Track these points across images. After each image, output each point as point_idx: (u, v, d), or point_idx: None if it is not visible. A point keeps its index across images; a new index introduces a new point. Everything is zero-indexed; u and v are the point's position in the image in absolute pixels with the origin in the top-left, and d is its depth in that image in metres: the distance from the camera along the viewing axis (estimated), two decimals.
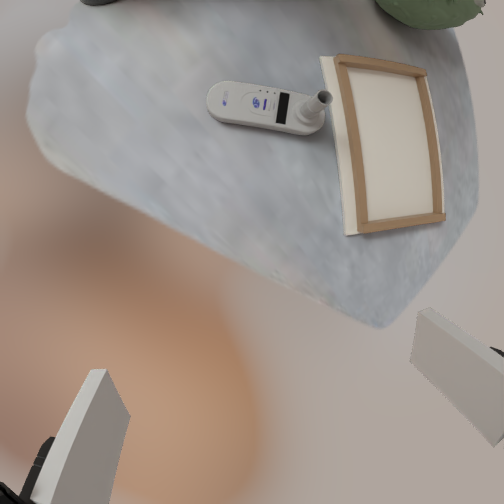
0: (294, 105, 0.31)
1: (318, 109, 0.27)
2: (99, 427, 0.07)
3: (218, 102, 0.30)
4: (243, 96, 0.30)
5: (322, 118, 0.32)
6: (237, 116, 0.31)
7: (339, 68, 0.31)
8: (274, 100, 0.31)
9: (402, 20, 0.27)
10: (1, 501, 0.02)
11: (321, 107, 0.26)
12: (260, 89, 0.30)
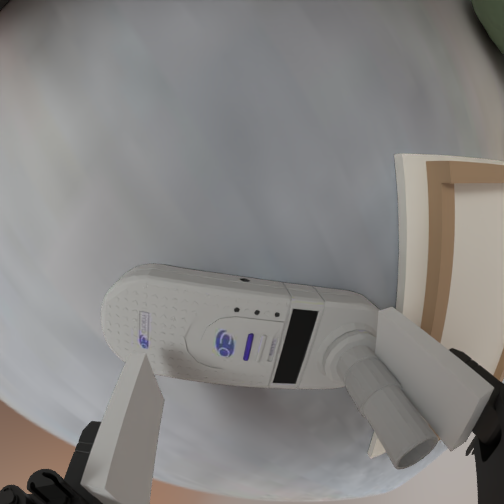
0: (325, 340, 0.13)
1: None
2: (142, 408, 0.08)
3: (129, 339, 0.12)
4: (190, 326, 0.12)
5: None
6: (181, 374, 0.12)
7: (441, 198, 0.12)
8: (274, 334, 0.12)
9: None
10: (49, 490, 0.03)
11: None
12: (237, 306, 0.12)
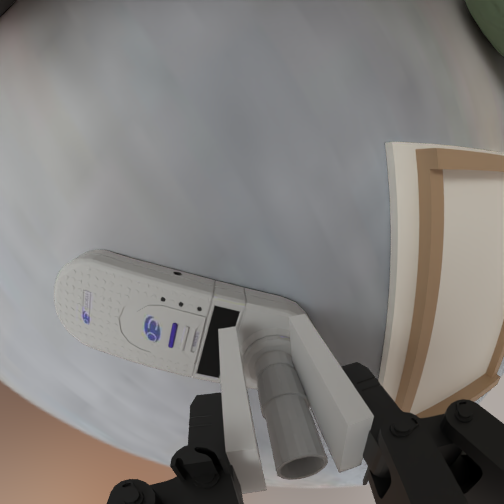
0: (246, 341, 0.14)
1: None
2: (244, 377, 0.10)
3: (74, 313, 0.12)
4: (123, 309, 0.13)
5: None
6: (115, 351, 0.13)
7: (430, 183, 0.13)
8: (196, 327, 0.13)
9: None
10: (199, 467, 0.05)
11: None
12: (163, 296, 0.13)
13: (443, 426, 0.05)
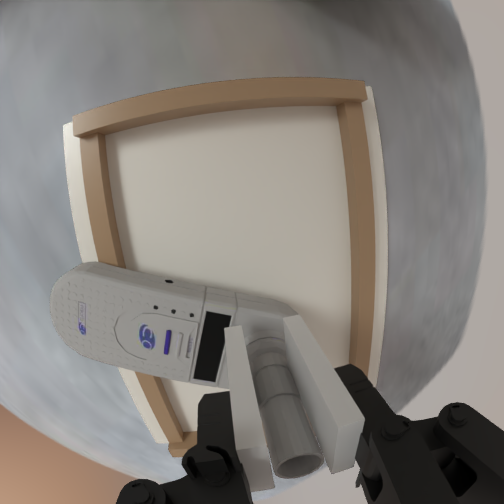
0: None
1: None
2: None
3: (71, 325, 0.12)
4: (118, 318, 0.13)
5: None
6: (113, 361, 0.13)
7: (82, 151, 0.13)
8: (190, 333, 0.13)
9: None
10: (210, 465, 0.05)
11: None
12: (156, 304, 0.13)
13: (436, 430, 0.05)
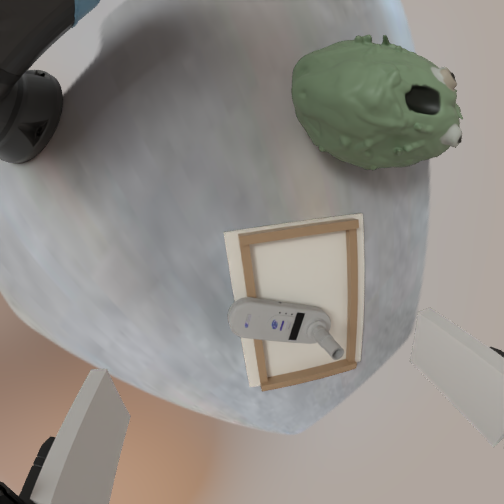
0: (307, 323, 0.38)
1: None
2: (99, 427, 0.07)
3: (241, 324, 0.36)
4: (264, 318, 0.36)
5: (327, 330, 0.39)
6: (257, 337, 0.37)
7: (241, 250, 0.36)
8: (290, 321, 0.37)
9: None
10: (1, 501, 0.02)
11: (332, 355, 0.33)
12: (280, 311, 0.36)
13: None
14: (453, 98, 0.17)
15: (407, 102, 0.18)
